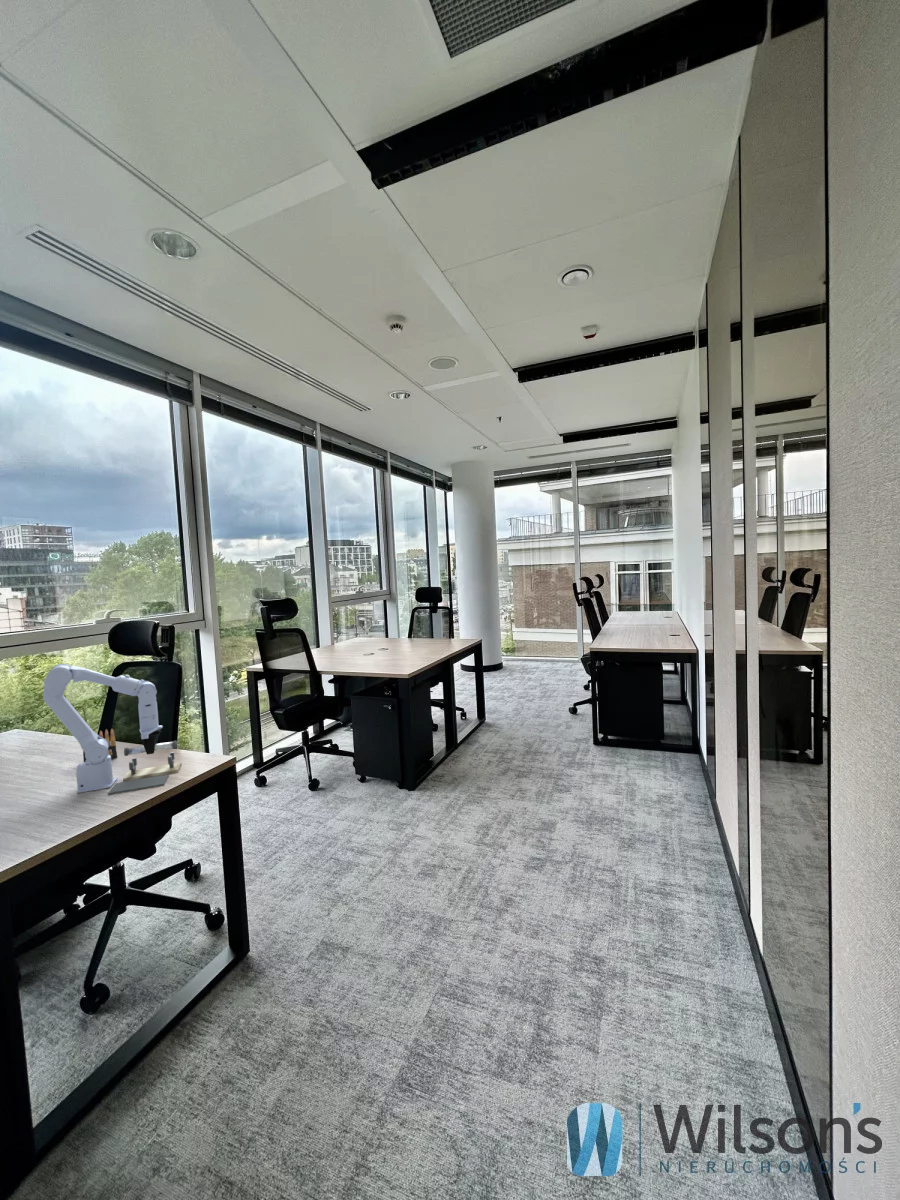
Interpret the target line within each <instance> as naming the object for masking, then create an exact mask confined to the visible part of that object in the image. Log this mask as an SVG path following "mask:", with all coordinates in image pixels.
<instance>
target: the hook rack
mask: <svg viewBox="0 0 900 1200" xmlns="http://www.w3.org/2000/svg"><path fill="white" fill-rule="evenodd" d="M175 758H176V757H175V751H171V752H170V753H169V756H167V764H164V765H157V766H152V767H145V768H138V769H137V766H138V760H137V759H138V758H137V757H133V758H132V759H131V761H130V762H128V767H129V770H128V771H127V773H126V774H125V775H124V777H123V778H122V782H127V780H128V781H133V780H139V779H145V778H151V777H157V776H163V775H169V774H174V773H179V771H180V769H181V767H182V762H176V763H175Z"/></svg>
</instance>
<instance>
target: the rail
mask: <svg viewBox="0 0 900 1200" xmlns="http://www.w3.org/2000/svg"><path fill="white" fill-rule="evenodd" d="M170 749H171V750H172V749H178V741H177V740H173V741H168V742H160V743H157V744H155V750H154V752H159V751H165V750H170ZM145 753H146V751H145V748H144V745H140V746H135V747H133V746H132V747H125V748H124V751H123V754H124V755H123V756H125V757H127V756H131V755H138V754H145Z"/></svg>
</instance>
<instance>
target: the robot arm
mask: <svg viewBox="0 0 900 1200" xmlns="http://www.w3.org/2000/svg"><path fill="white" fill-rule="evenodd" d="M71 681H73V684H75V683H78V682H82V681H85V682H90V683H95V684H99V685H103V686H104V685H105V686H108V687H111V688H112V691H114V692H115V693H116V692H117V693H120V694H123V695H128V696H131V697H136V696H137V698H138V705H137V706H138V707H137V708H138V718H139V733H140V735H139V736H138V740H139V741H140V743H141V744H142V746H144V748H145V751H146V752H145V753H146V755H154V753H155V751H154V750H155V744H158V739H159V736H160V734H161V732H162V730H161V729H163V727H164V726H163V725H159V711H158V701H157V693H158V690H157V688H156V685H155V684H154V683H153V682H150V681H149V680H145V679H137V678H133V677H131V676H130V675H129V674H125V675H121V674H120V675H119V676H116V677H115V676H112V675H108V674H105V673H102V672H100V671H95V670H92V669H89V668H87V667H82V666H78V665H70V664H67V663H60V664H55V666H53V667H52V668H51V669H50V671H49V672H48V673H47V675H46V676H45V679H44V681H43V684H44V685H43V696H42V697H43V698H42V699H43V702H45V704H46V705H47V706H48V707H49V709H50V710H51V711H52V712H53V713H54V714H55V716H56V717H57V718H58V719H59V720H60V722H61V723H62V724H63V725H64V726H65V727H66V729H67V730H68V731H69V732H70V733H71V735H72V736H73V737H74V738H75V739H76V740H77V742H78V744H79V746H80V747H81V749H82V752H83V751H84V752H85V758H86V760H85V762H84V761H83V762H79V763H78V764H77V767H76V773H75V774H76V785H77V791H76V793H77V794H80V793H81V794H82V793H86V792H91V791H97V790H98V791H99V790H103V789H109V788H112V787H113V786H114V785H113V784H115V782H116V781H117V779H118V777H114V776H113V768H112V767H113V765H112V759H111V756H110V755H109V754H108V747H109V743H108V741H107V740H106V739H105V737H103V738H101V737H99V734H98V733H97V732H96V731H93V729H92V728H91V727H90V726H89V724H88V723H87V722H86V721H85V719H84V718H83V717H82V716H81V715H80V713H79V711H77V710H76V709H75V707H74V706H73V705H72V704H71V702H70V701H69V700H68V698H66V697H65V694H64V693H65V690H66V688H67V686H68V685H69V684H70V682H71ZM95 732H96V733H95Z"/></svg>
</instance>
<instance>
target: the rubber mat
mask: <svg viewBox="0 0 900 1200" xmlns="http://www.w3.org/2000/svg"><path fill="white" fill-rule="evenodd" d="M168 778H169V774H164V775H158V776H152V777H146V778H140V779H134V780H128V781H122V782H121V781H120V782H116V783H114V785H112V786H111V789H109V792H107V795H108V796H109V795H110V796H111V795H116V793H117V794H122V792H123V793H127V792H132V791H134V792H135V791H140V790H146V789H150V788H156V787H155V786H157V787H162V786H161V785H163V786H164V785H165V784H166V782H167V780H168Z"/></svg>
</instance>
